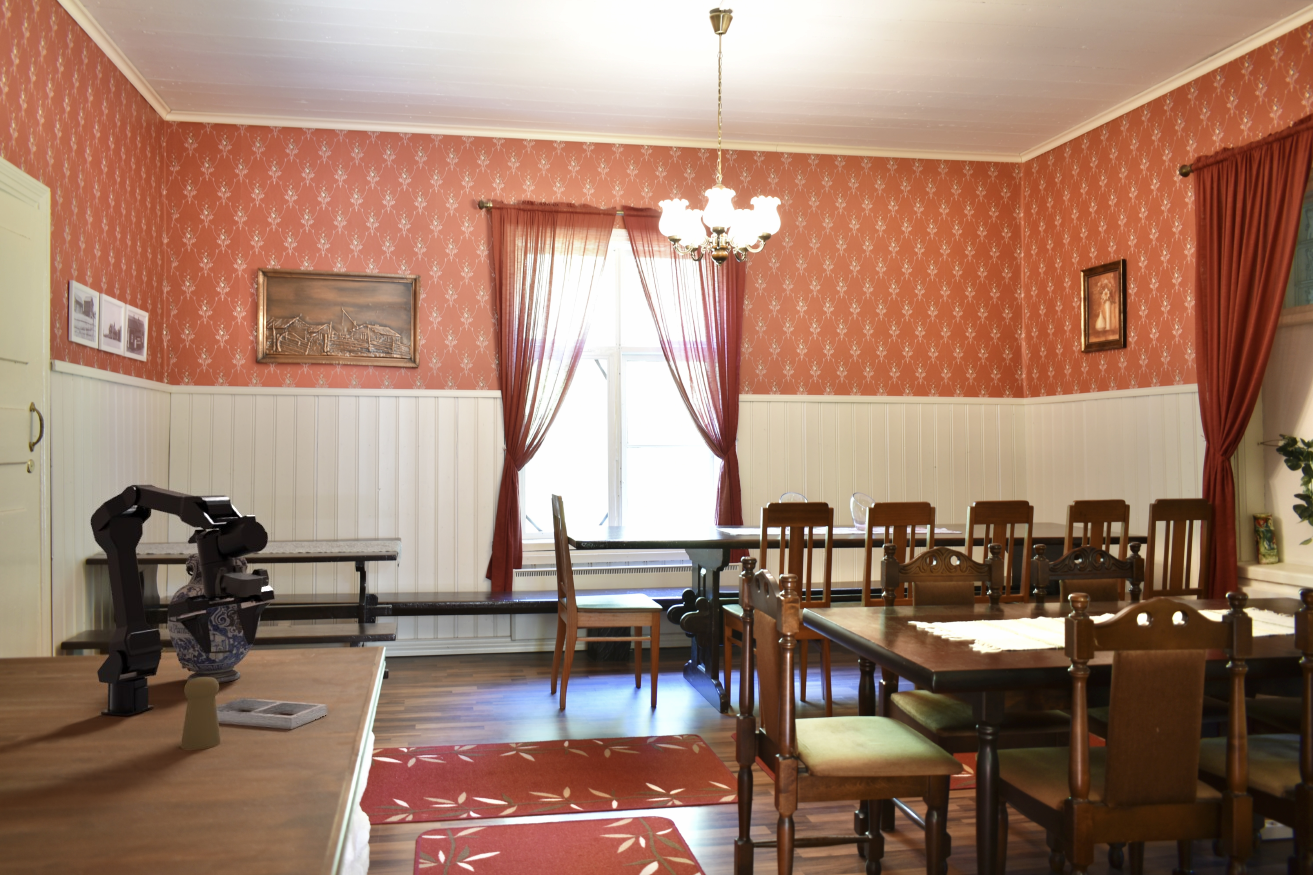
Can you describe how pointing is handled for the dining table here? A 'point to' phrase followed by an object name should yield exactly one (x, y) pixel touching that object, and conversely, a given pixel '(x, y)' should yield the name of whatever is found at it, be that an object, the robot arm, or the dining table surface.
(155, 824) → the dining table surface
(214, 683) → the cork
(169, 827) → the dining table surface
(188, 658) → the decorative vase
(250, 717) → the grey divided tray
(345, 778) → the dining table surface
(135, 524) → the robot arm
